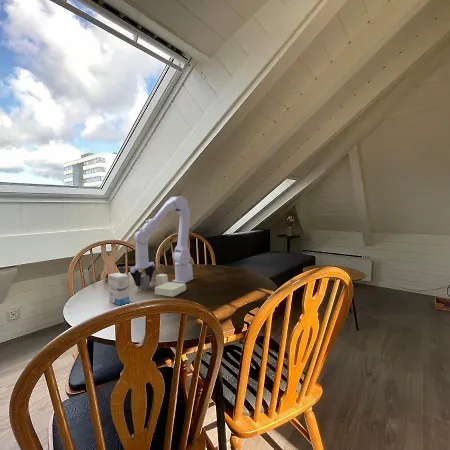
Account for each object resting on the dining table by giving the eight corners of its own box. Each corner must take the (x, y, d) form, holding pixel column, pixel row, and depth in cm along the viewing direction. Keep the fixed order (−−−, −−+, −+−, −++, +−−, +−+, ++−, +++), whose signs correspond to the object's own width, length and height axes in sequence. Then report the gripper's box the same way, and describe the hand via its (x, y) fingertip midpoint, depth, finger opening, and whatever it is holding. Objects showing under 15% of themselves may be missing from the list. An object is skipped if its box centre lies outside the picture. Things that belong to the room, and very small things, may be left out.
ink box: (130, 302, 117) (128, 275, 116) (119, 306, 114) (117, 277, 113) (120, 298, 123) (118, 272, 122) (109, 301, 119) (107, 274, 118)
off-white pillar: (161, 285, 141) (160, 273, 141) (167, 286, 139) (167, 274, 139) (156, 287, 138) (155, 275, 137) (162, 288, 136) (162, 276, 135)
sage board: (168, 287, 137) (168, 281, 136) (185, 290, 132) (185, 283, 132) (154, 294, 128) (154, 287, 127) (173, 296, 123) (172, 290, 123)
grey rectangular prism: (143, 286, 140) (143, 274, 139) (150, 287, 138) (149, 275, 138) (137, 289, 136) (137, 276, 136) (144, 290, 134) (143, 277, 134)
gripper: (146, 253, 144) (147, 279, 145) (124, 258, 131) (126, 287, 132) (157, 253, 141) (158, 280, 142) (136, 259, 128) (137, 288, 129)
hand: (143, 283), depth 137 cm, fingers open, 7 cm apart
